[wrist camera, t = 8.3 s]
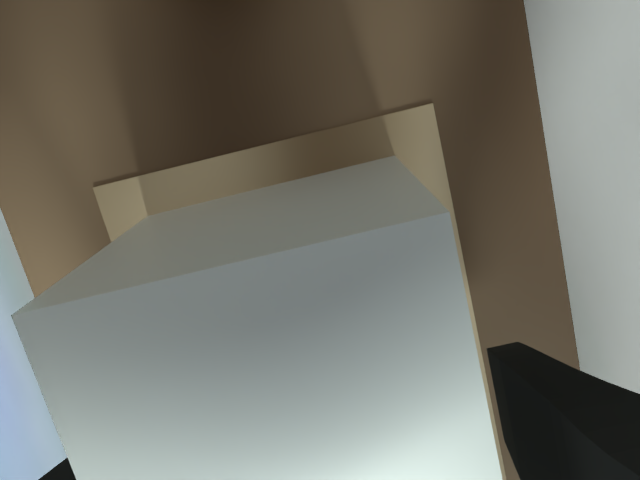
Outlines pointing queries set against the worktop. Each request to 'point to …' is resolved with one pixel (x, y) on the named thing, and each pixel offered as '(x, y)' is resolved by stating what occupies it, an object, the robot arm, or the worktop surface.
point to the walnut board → (285, 131)
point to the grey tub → (270, 340)
